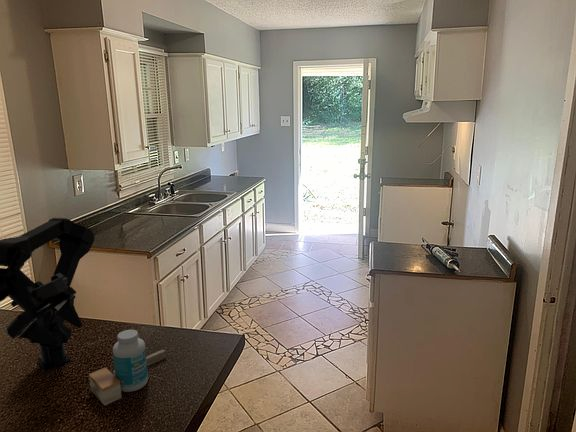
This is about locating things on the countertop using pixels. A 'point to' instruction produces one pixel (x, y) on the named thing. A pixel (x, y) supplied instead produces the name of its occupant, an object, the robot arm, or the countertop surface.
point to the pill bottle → (130, 361)
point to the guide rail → (153, 358)
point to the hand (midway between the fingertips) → (70, 335)
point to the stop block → (105, 386)
